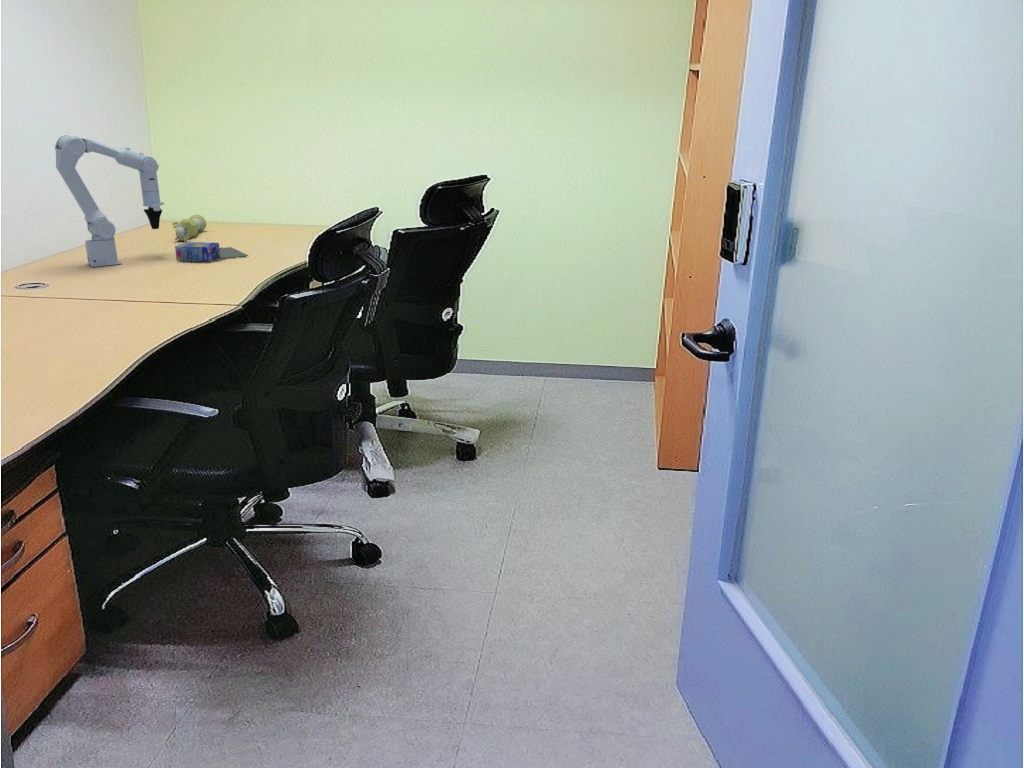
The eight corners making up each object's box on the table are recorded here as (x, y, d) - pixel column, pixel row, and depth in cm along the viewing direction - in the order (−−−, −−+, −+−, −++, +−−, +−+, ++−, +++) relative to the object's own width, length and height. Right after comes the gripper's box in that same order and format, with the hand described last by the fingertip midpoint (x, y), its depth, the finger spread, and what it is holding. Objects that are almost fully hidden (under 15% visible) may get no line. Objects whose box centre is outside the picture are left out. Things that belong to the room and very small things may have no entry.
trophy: (187, 213, 357) (167, 223, 328) (205, 213, 357) (186, 223, 329) (190, 232, 359) (169, 244, 331) (208, 232, 360) (189, 244, 332)
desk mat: (193, 262, 296) (192, 261, 296) (177, 253, 312) (177, 252, 311) (248, 256, 307) (248, 255, 307) (230, 248, 323) (230, 247, 322)
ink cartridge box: (187, 240, 304) (225, 242, 303) (188, 255, 306) (226, 257, 305) (174, 245, 295) (213, 247, 294) (175, 260, 297) (214, 263, 296)
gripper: (166, 192, 295) (171, 230, 299) (157, 188, 306) (162, 225, 310) (145, 193, 291) (151, 232, 295) (136, 189, 302) (142, 226, 307)
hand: (155, 228), depth 303 cm, fingers closed
